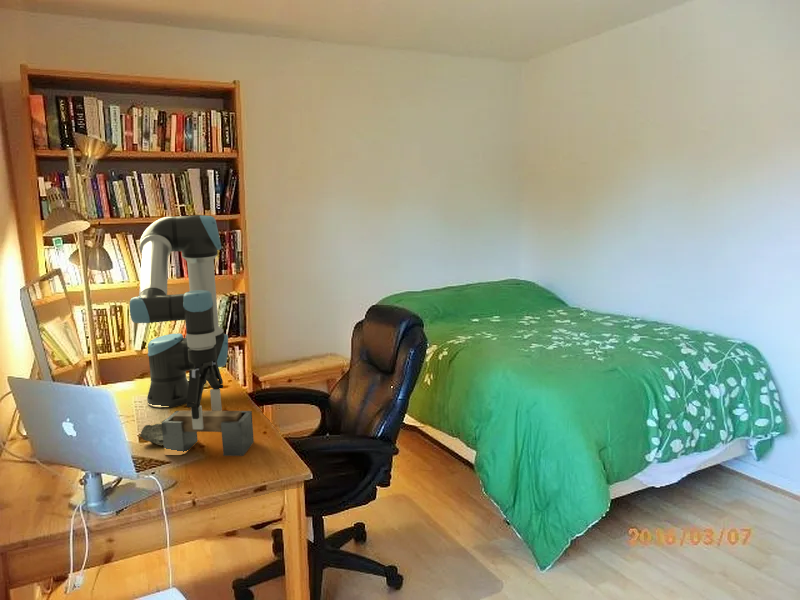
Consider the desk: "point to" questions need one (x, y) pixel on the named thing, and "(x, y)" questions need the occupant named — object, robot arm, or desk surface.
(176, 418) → the rail
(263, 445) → the desk surface
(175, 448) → the bracket
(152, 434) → the rock sample
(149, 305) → the robot arm
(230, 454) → the bracket
